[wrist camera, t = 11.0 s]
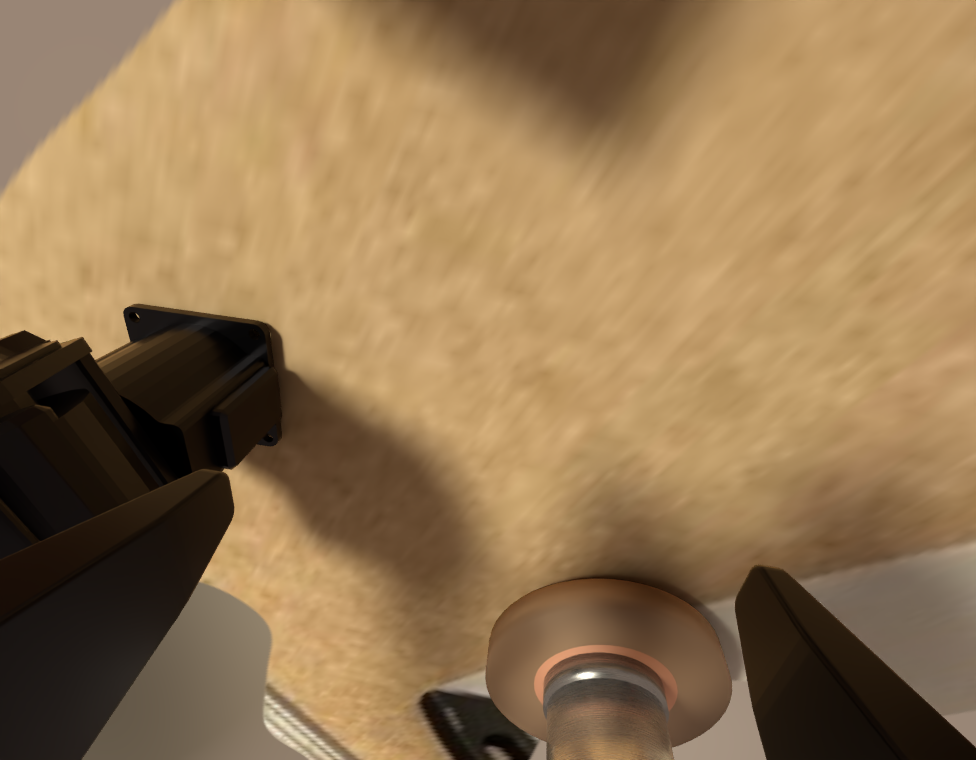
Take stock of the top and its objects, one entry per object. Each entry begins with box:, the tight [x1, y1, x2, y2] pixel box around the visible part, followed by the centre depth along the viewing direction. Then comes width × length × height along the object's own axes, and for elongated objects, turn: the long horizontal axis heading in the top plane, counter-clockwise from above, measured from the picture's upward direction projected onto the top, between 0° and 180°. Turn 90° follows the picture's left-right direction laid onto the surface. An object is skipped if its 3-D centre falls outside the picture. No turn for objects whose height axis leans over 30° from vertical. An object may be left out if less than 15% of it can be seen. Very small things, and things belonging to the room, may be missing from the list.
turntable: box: [486, 579, 732, 747], centre depth 28 cm, size 13×13×3 cm
